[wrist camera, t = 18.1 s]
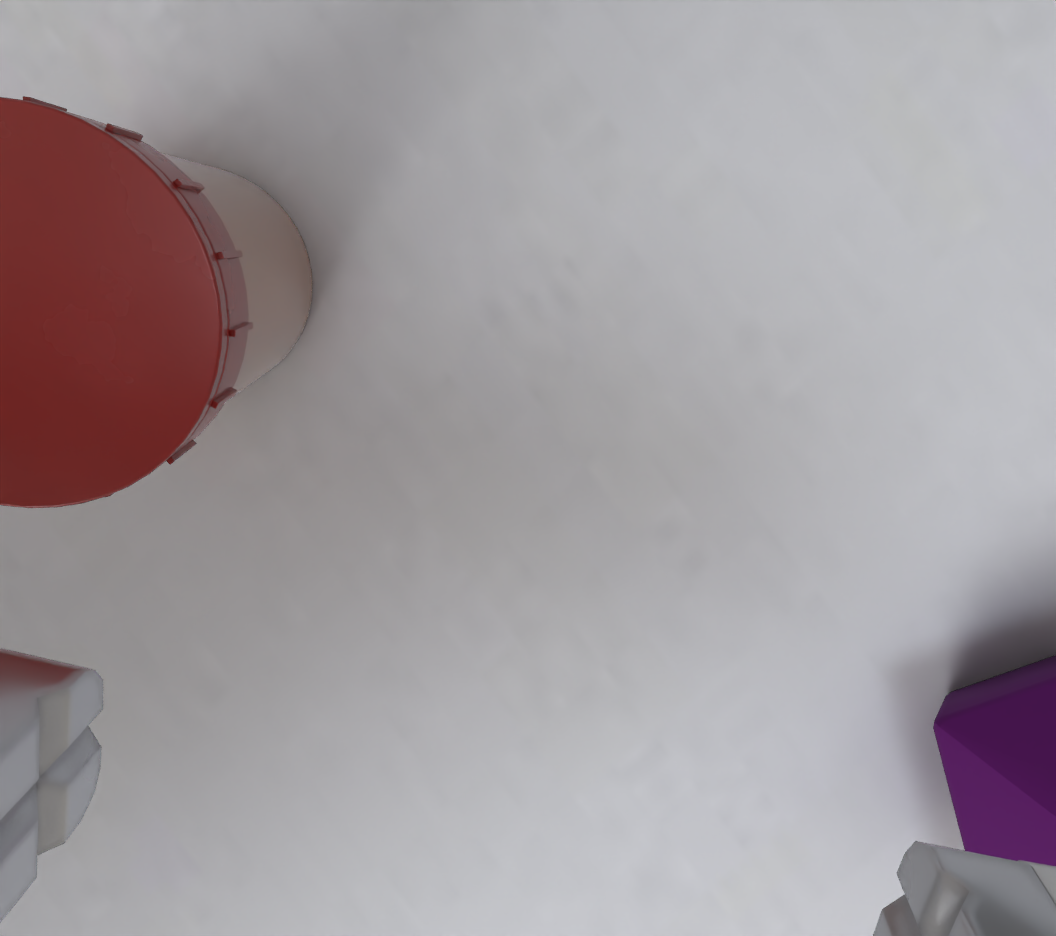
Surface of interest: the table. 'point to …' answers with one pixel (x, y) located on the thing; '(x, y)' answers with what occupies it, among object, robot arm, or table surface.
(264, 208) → the jam jar
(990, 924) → the robot arm
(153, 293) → the jar lid
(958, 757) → the purple potion bottle
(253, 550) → the table surface
